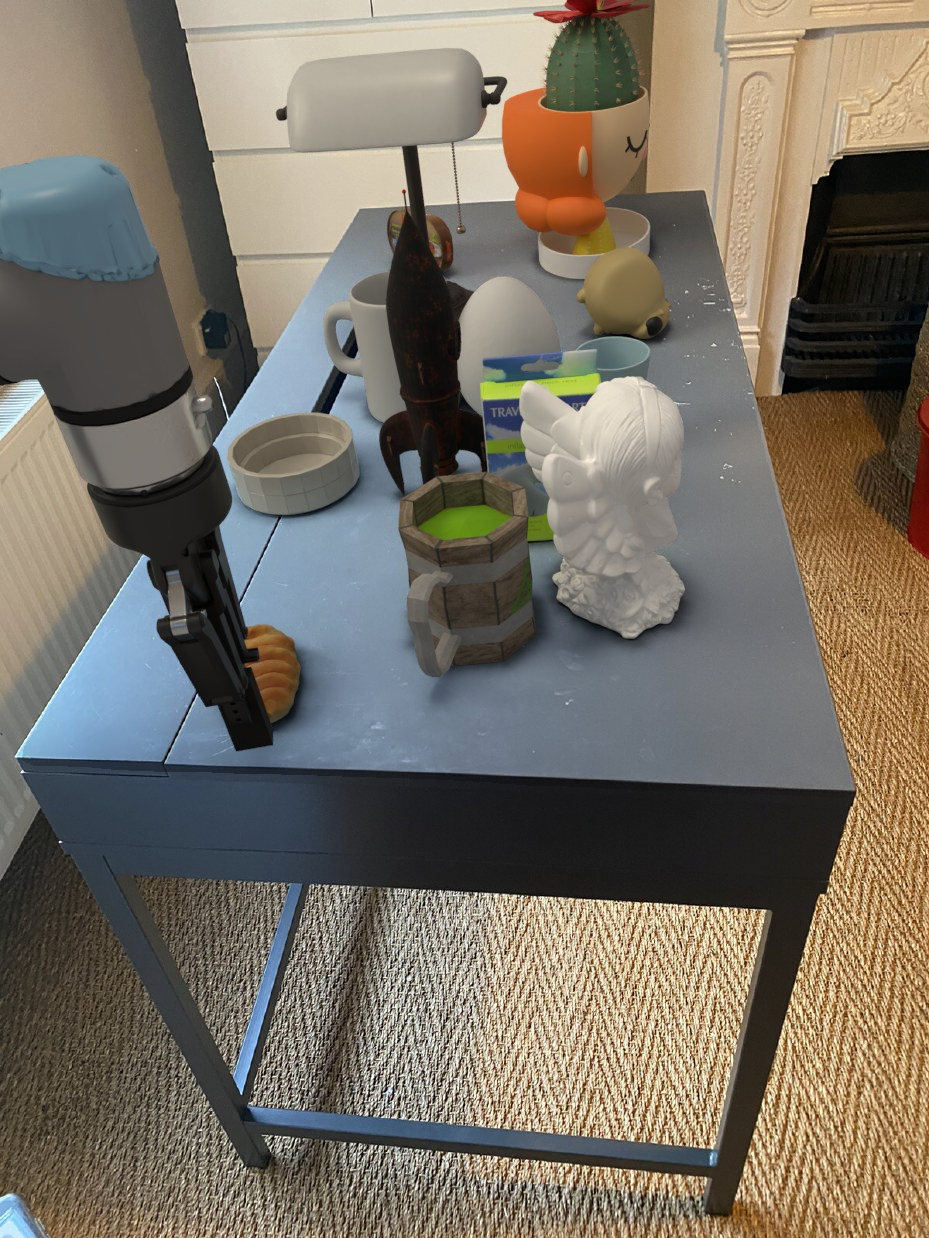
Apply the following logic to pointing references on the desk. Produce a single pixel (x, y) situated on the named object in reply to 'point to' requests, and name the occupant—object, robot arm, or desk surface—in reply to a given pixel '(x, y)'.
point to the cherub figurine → (609, 498)
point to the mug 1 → (368, 344)
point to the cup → (619, 357)
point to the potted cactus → (580, 140)
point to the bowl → (294, 463)
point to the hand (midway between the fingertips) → (254, 740)
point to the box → (505, 420)
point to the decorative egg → (502, 332)
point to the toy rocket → (425, 365)
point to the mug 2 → (467, 570)
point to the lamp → (392, 112)
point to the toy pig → (625, 294)
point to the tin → (436, 233)
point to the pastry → (274, 668)
